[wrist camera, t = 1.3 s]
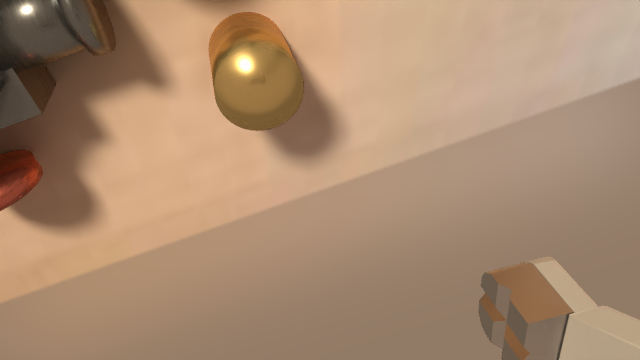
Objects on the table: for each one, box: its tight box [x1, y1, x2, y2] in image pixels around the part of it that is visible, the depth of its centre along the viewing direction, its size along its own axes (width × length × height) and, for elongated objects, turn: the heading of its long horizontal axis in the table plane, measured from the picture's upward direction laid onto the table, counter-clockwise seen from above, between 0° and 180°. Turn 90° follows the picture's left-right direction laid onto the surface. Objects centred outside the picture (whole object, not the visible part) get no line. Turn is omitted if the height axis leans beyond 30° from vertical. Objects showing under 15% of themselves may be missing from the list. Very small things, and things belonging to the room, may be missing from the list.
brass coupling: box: [209, 12, 304, 131], centre depth 31 cm, size 5×5×6 cm
